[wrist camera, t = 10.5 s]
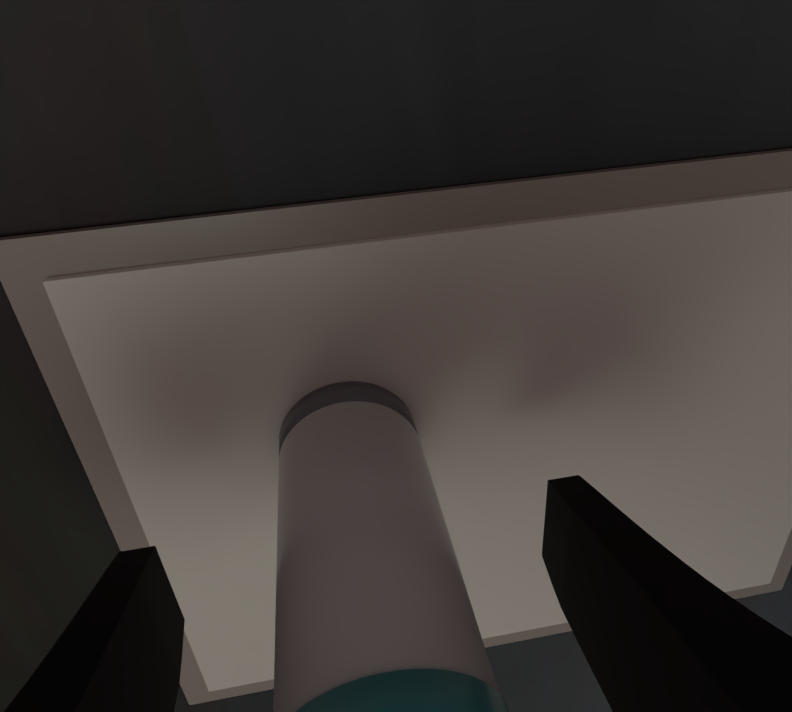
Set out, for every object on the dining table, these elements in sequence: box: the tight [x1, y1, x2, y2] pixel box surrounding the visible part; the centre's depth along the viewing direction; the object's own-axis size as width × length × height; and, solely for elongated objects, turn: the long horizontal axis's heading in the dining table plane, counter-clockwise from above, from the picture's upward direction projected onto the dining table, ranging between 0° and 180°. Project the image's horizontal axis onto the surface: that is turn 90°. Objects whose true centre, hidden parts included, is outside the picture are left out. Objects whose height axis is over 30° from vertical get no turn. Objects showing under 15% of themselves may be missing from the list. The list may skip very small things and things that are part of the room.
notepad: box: [0, 148, 792, 705], centre depth 15 cm, size 20×15×1 cm
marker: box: [273, 381, 509, 712], centre depth 10 cm, size 3×3×8 cm
